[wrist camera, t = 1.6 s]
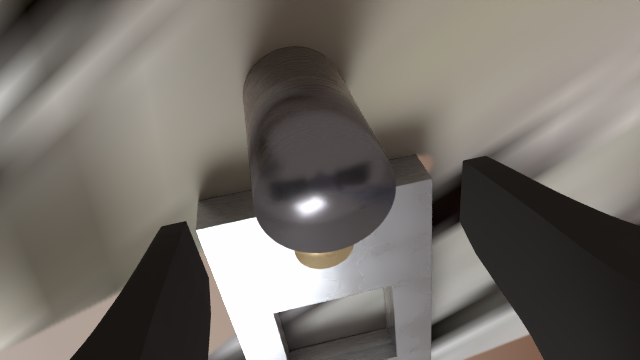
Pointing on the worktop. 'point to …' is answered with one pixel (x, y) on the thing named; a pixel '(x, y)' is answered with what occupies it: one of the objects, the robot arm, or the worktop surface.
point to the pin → (312, 155)
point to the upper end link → (325, 270)
